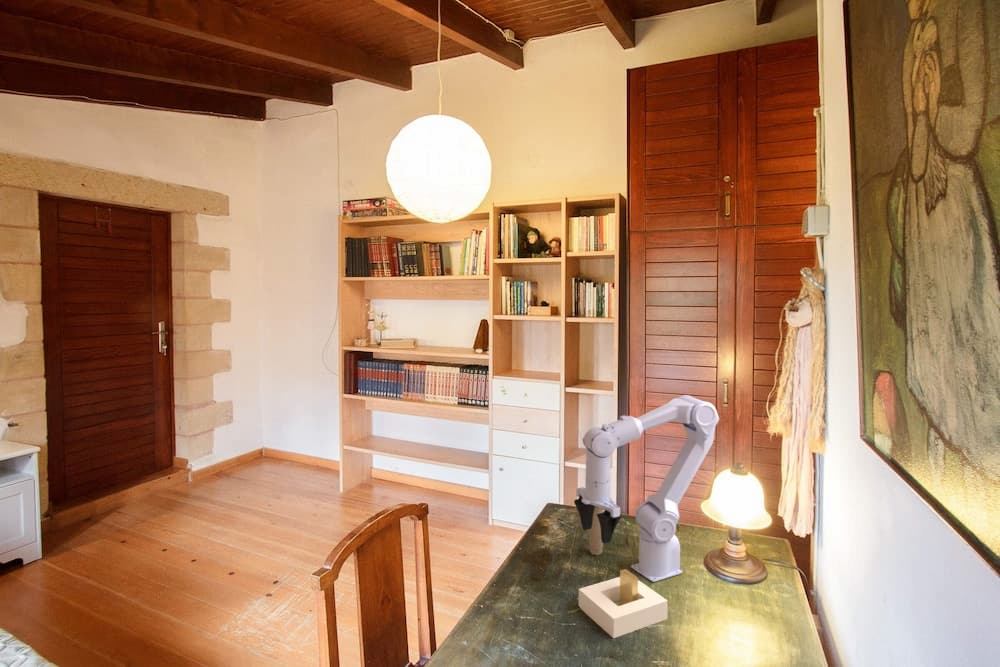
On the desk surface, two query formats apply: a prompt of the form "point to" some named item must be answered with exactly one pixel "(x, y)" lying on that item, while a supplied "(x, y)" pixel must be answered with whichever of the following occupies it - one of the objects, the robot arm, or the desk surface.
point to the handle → (595, 534)
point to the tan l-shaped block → (628, 587)
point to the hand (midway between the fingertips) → (596, 535)
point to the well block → (622, 607)
